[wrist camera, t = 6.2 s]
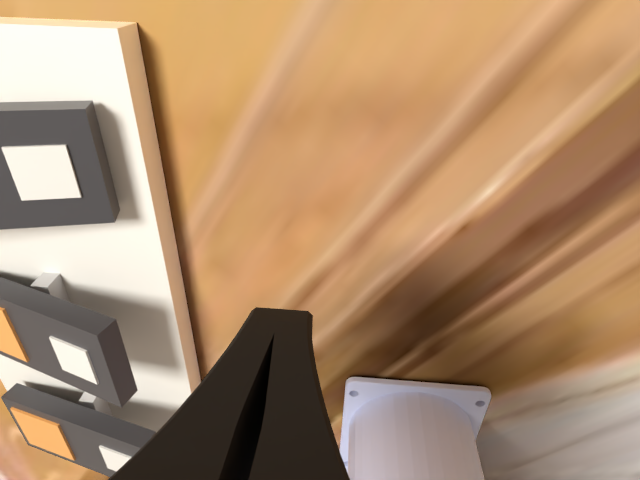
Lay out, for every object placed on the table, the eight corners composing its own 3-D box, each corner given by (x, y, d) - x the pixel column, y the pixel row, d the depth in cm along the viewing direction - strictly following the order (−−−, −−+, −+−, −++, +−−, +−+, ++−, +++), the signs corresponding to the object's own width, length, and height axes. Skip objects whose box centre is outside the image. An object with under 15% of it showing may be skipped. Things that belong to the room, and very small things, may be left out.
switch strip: (211, 438, 29) (200, 476, 27) (50, 424, 30) (27, 460, 28) (136, 22, 16) (102, 33, 14) (-157, 10, 16) (-232, 19, 14)
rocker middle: (137, 390, 20) (119, 410, 19) (-1, 332, 23) (-23, 347, 22) (116, 319, 18) (94, 337, 17) (-36, 263, 21) (-62, 277, 20)
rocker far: (169, 478, 25) (157, 498, 24) (41, 430, 27) (26, 446, 26) (155, 431, 23) (141, 451, 22) (16, 383, 25) (-2, 399, 24)
